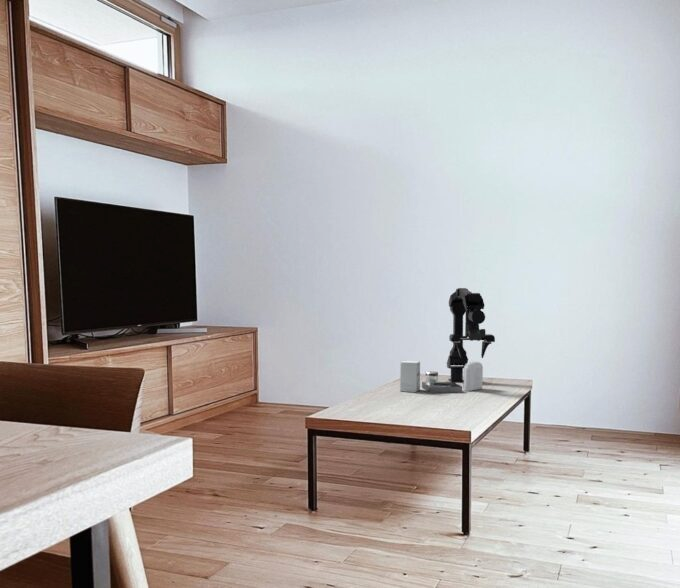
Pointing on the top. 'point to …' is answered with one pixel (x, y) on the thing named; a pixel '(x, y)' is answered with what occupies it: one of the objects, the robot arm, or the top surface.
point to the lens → (431, 376)
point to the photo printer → (473, 376)
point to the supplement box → (410, 376)
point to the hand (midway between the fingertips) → (471, 357)
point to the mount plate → (442, 387)
